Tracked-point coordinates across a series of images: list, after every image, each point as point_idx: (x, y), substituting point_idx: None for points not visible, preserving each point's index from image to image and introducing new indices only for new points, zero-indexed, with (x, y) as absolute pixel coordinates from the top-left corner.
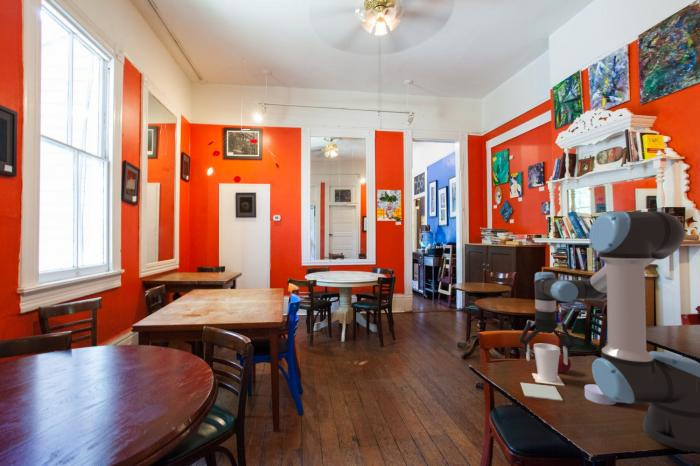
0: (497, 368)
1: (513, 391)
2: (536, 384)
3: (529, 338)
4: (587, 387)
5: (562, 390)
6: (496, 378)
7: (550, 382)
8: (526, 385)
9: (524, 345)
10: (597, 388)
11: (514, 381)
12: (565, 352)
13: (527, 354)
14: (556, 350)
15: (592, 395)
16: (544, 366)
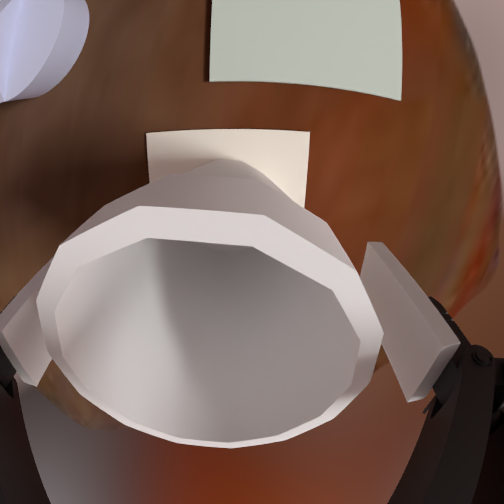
0: (432, 288)
1: (434, 8)
2: (317, 84)
3: (480, 428)
4: (50, 27)
5: (175, 55)
6: (477, 158)
7: (219, 151)
8: (377, 60)
9: (464, 344)
10: (16, 46)
11: (418, 128)
12: (23, 299)
13: (407, 273)
14: (60, 249)
15: None
16: (255, 174)
